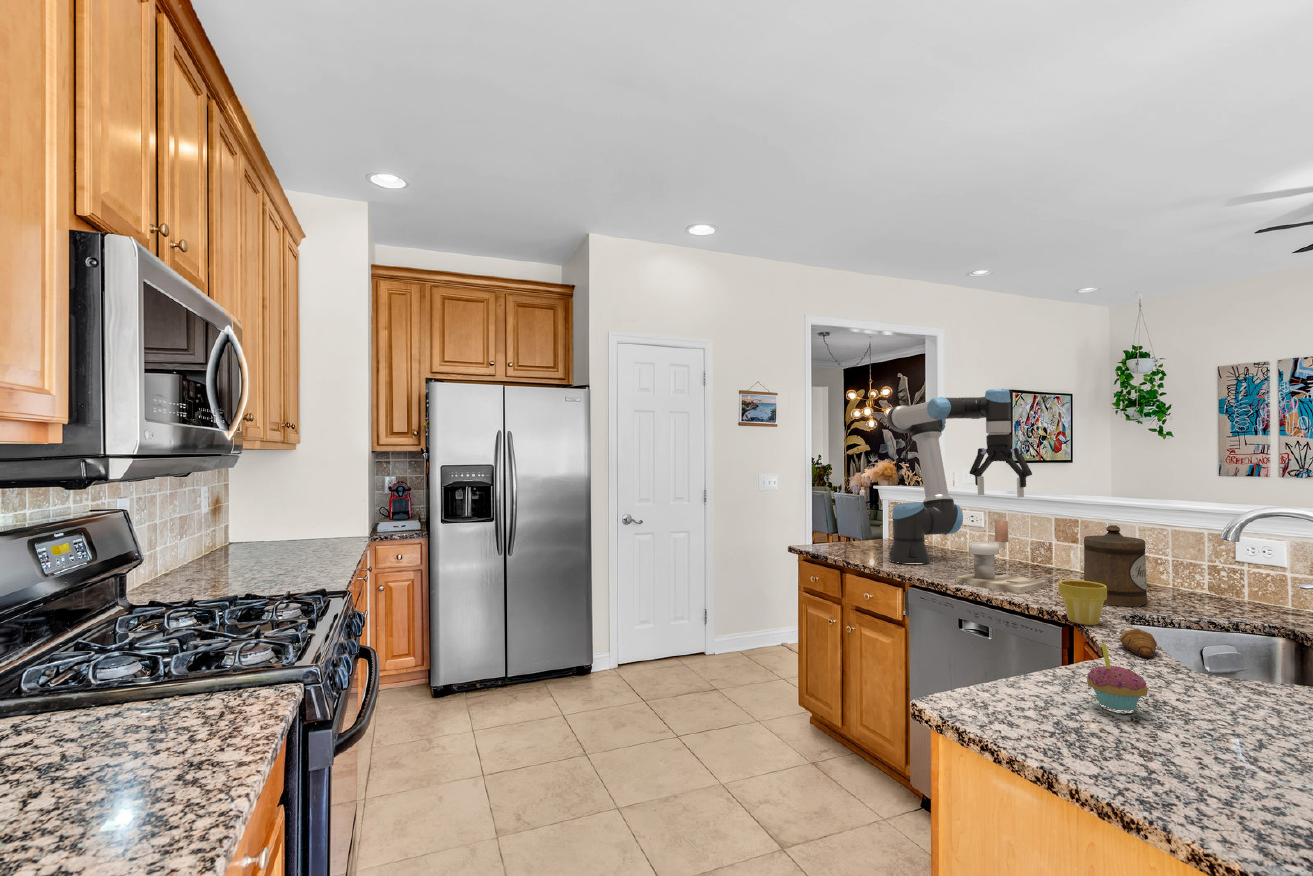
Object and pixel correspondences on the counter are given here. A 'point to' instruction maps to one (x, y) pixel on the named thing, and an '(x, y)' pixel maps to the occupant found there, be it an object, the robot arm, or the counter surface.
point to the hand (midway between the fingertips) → (1000, 496)
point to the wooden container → (1117, 566)
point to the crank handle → (992, 547)
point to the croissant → (1139, 642)
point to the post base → (998, 577)
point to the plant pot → (1083, 600)
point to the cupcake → (1116, 685)
